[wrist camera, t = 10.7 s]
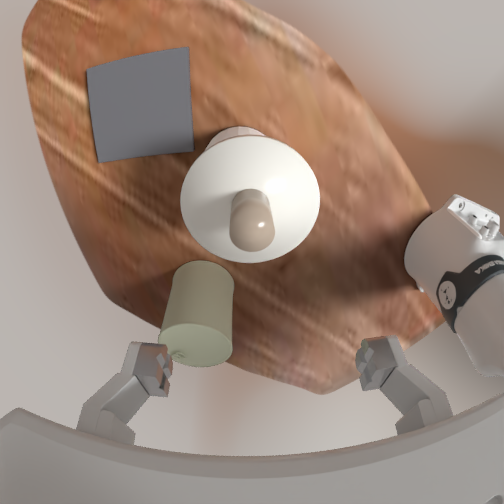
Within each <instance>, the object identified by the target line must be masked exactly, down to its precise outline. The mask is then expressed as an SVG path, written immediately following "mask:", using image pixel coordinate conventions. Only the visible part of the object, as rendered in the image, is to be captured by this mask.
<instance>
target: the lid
mask: <svg viewBox="0 0 504 504" xmlns="http://www.w3.org/2000/svg"><path fill="white" fill-rule="evenodd" d="M180 205H181V212H182V217H183V220H184V222H185V225H186V227H187V229H188V230H189V232H190V234H191V235H192V236H193V238H194V239H195V240H196V241H197V242H198V243H199V244H200V245H201V246H202V247H204V248H205V249H206V250H208V251H209V252H211V253H212V254H214V255H216V256H219V257H221V258H224V259H227V260H230V261H235V262H242V263H256V262H264V261H269V260H272V259H275V258H278V257H280V256H282V255H284V254H286V253H288V252H289V251H291V250H292V249H294V248H295V247H297V246H298V245H299V244H300V243H301V242H302V241H303V240H304V239H305V238H306V236H307V235H308V234H309V232H310V231H311V229H312V228H313V226H314V223H315V221H316V219H317V216H318V212H319V206H320V194H319V187H318V183H317V180H316V178H315V175H314V173H313V171H312V170H311V168H310V167H309V165H308V164H307V162H306V161H305V160H304V159H303V157H302V156H301V155H300V154H299V153H298V152H297V151H296V150H294V149H293V148H292V147H290V146H289V145H287V144H286V143H284V142H281V141H279V140H277V139H274V138H271V137H268V136H262V135H238V136H234V137H230V138H227V139H224V140H222V141H219V142H217V143H216V144H214V145H212V146H211V147H209V148H208V149H207V150H205V151H204V152H203V153H202V154H201V155H200V156H199V157H198V158H197V159H196V160H195V162H194V163H193V164H192V166H191V168H190V170H189V171H188V173H187V175H186V177H185V180H184V182H183V185H182V190H181V198H180Z"/></svg>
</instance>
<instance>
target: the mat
mask: <svg viewBox="0 0 504 504" xmlns="http://www.w3.org/2000/svg"><path fill="white" fill-rule="evenodd" d="M87 82H88V93H89V103H90V111H91V119H92V126H93V133H94V139H95V145H96V151H97V156H98V162H99V163H102V162H108V161H114V160H121V159H128V158H135V157H143V156H151V155H160V154H170V153H181V152H193V151H194V150H195V148H194V135H193V121H192V105H191V86H190V63H189V47H183V48H175V49H169V50H163V51H157V52H151V53H146V54H141V55H137V56H132V57H128V58H124V59H120V60H116V61H112V62H109V63H105V64H102V65H98V66H95V67H92V68H89V69H87Z"/></svg>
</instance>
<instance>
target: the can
mask: <svg viewBox="0 0 504 504" xmlns="http://www.w3.org/2000/svg"><path fill="white" fill-rule="evenodd" d="M233 291H234V281H233V279H232V277H231V275H230V273H229V272H228V271H227V270H226V269H225V268H223V267H222V266H220V265H218V264H216V263H213V262H209V261H202V260H198V261H191V262H188V263H186V264H184V265H182V266H181V267H179V268H178V269H177V271H176V272H175V274H174V276H173V284H172V288H171V292H170V296H169V300H168V304H167V308H166V312H165V316H164V320H163V324H162V327H161V331H160V334H159V337H158V344H166V346H167V348H168V351H167V353H168V354H170V355H171V358H172V360H174V361H176V362H179V363H181V364H184V365H189V366H194V367H210V366H215V365H218V364H221V363H223V362H224V361H226V360H227V359H228V358H229V357H230V356H231V354H232V350H233V347H232V304H233Z"/></svg>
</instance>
